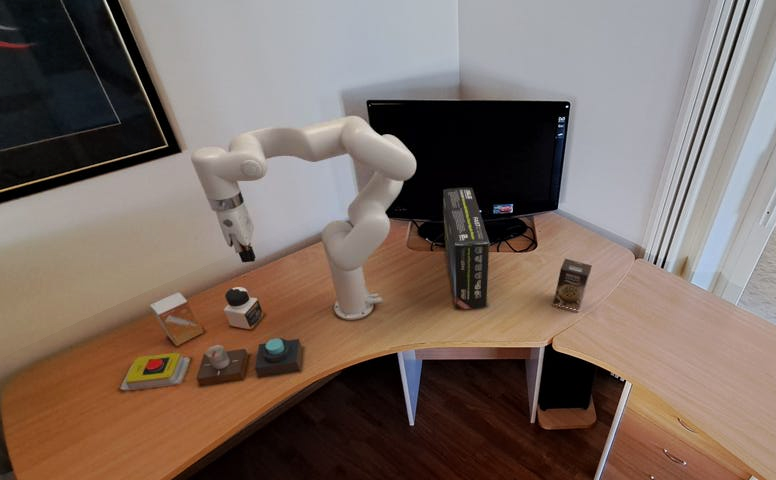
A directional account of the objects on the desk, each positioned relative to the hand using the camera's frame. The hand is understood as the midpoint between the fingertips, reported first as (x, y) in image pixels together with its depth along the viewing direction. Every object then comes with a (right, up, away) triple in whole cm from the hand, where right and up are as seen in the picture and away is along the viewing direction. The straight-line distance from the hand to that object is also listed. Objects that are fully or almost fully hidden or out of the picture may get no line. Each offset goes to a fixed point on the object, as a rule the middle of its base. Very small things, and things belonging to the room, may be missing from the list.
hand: (249, 260), depth 120 cm
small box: (-27, -22, +15) cm, 38 cm away
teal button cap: (+5, -25, +5) cm, 26 cm away
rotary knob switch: (-10, -31, +5) cm, 33 cm away
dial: (-10, -28, +3) cm, 30 cm away
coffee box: (+93, -13, +32) cm, 99 cm away
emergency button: (-28, -32, +4) cm, 42 cm away
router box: (+57, -3, +41) cm, 70 cm away
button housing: (+5, -29, +8) cm, 30 cm away
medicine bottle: (-11, -18, +21) cm, 29 cm away
